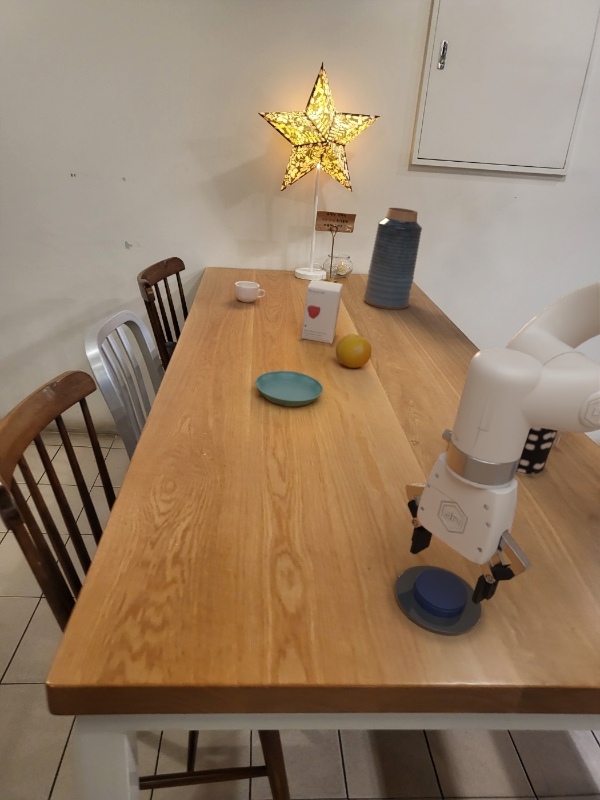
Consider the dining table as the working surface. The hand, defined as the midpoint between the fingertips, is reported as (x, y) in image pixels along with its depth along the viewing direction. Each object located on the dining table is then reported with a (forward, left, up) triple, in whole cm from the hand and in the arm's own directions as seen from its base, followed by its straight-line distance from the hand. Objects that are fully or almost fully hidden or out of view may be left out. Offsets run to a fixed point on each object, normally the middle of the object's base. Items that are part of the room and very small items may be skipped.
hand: (448, 572), depth 68 cm
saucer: (+27, -52, -5) cm, 59 cm away
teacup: (+49, -116, -5) cm, 126 cm away
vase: (+4, -136, -5) cm, 136 cm away
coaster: (0, 0, -5) cm, 5 cm away
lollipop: (-29, -47, -5) cm, 55 cm away
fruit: (+14, -74, -5) cm, 75 cm away
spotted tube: (-20, -39, -5) cm, 44 cm away
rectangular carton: (+24, -92, -5) cm, 95 cm away
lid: (0, 0, -3) cm, 3 cm away
